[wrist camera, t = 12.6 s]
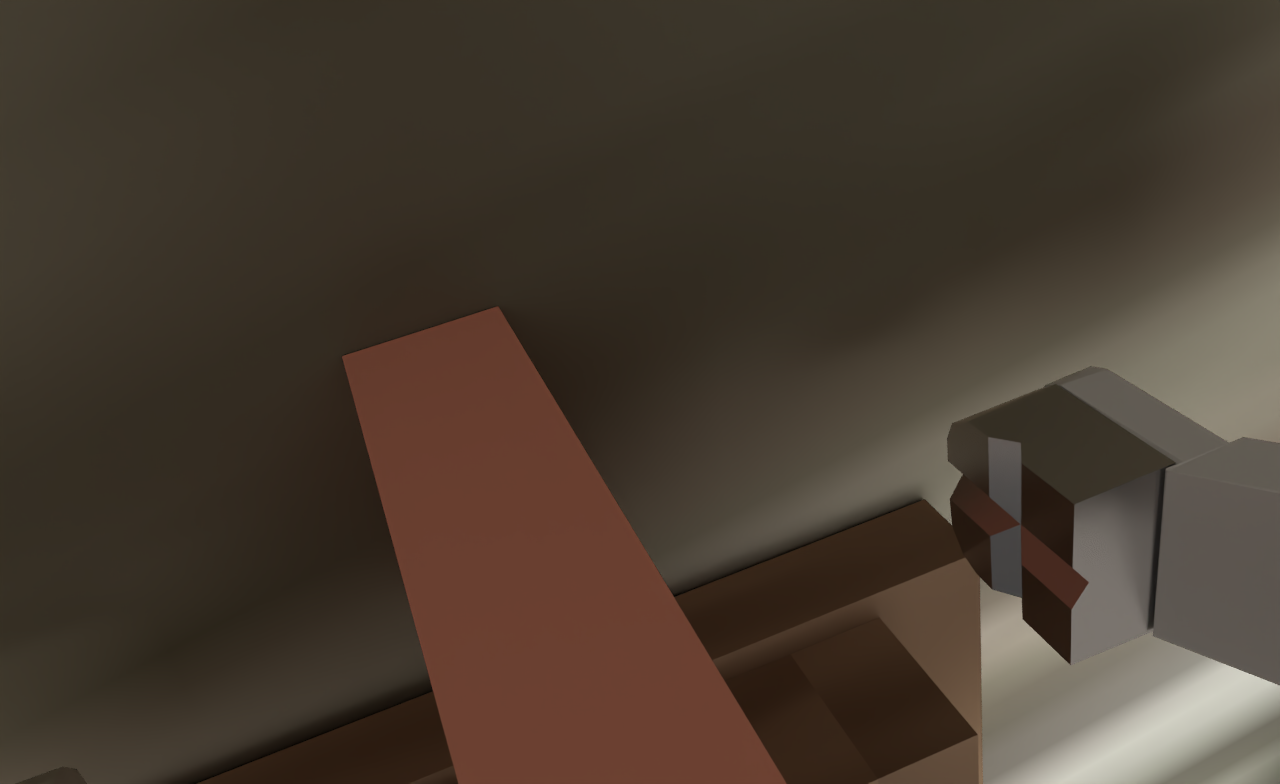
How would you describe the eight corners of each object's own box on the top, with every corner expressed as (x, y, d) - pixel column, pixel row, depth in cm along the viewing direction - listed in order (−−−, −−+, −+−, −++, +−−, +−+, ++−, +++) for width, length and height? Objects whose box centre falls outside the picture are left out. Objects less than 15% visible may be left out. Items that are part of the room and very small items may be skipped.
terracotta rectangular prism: (341, 357, 11) (521, 1013, 5) (497, 306, 11) (838, 868, 5) (426, 585, 12) (638, 1288, 7) (561, 535, 13) (876, 1162, 7)
